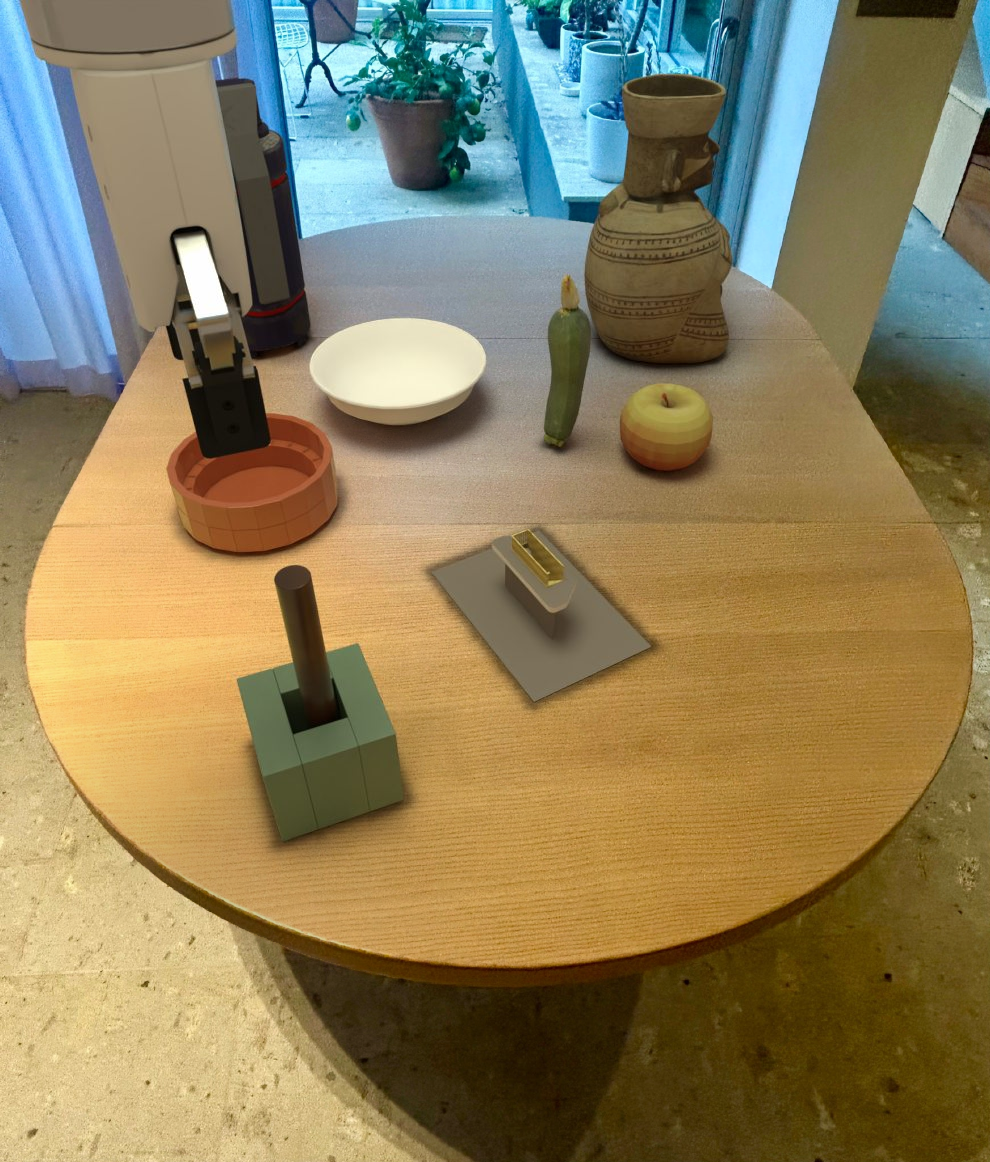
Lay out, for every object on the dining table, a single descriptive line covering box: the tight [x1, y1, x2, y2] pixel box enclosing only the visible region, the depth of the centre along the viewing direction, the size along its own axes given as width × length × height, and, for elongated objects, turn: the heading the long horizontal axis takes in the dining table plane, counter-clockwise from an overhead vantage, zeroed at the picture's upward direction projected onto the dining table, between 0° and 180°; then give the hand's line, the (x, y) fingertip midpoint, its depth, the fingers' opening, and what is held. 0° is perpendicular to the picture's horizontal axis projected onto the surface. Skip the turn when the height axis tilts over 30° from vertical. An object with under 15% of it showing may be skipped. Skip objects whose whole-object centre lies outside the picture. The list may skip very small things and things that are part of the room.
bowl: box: [308, 317, 488, 426], centre depth 101 cm, size 20×20×6 cm
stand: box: [236, 642, 404, 842], centre depth 64 cm, size 9×9×8 cm
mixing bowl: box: [165, 412, 339, 553], centre depth 88 cm, size 16×16×6 cm
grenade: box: [215, 77, 311, 358], centre depth 105 cm, size 14×12×30 cm
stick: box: [273, 564, 339, 729], centre depth 60 cm, size 2×2×20 cm
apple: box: [619, 382, 714, 471], centre depth 94 cm, size 10×10×8 cm
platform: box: [430, 528, 652, 703], centre depth 77 cm, size 12×18×7 cm, turn 30°
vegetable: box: [543, 274, 592, 448], centre depth 91 cm, size 4×4×20 cm
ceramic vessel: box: [583, 73, 733, 364], centre depth 106 cm, size 19×21×30 cm
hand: (219, 398), depth 45 cm, fingers open, 9 cm apart
